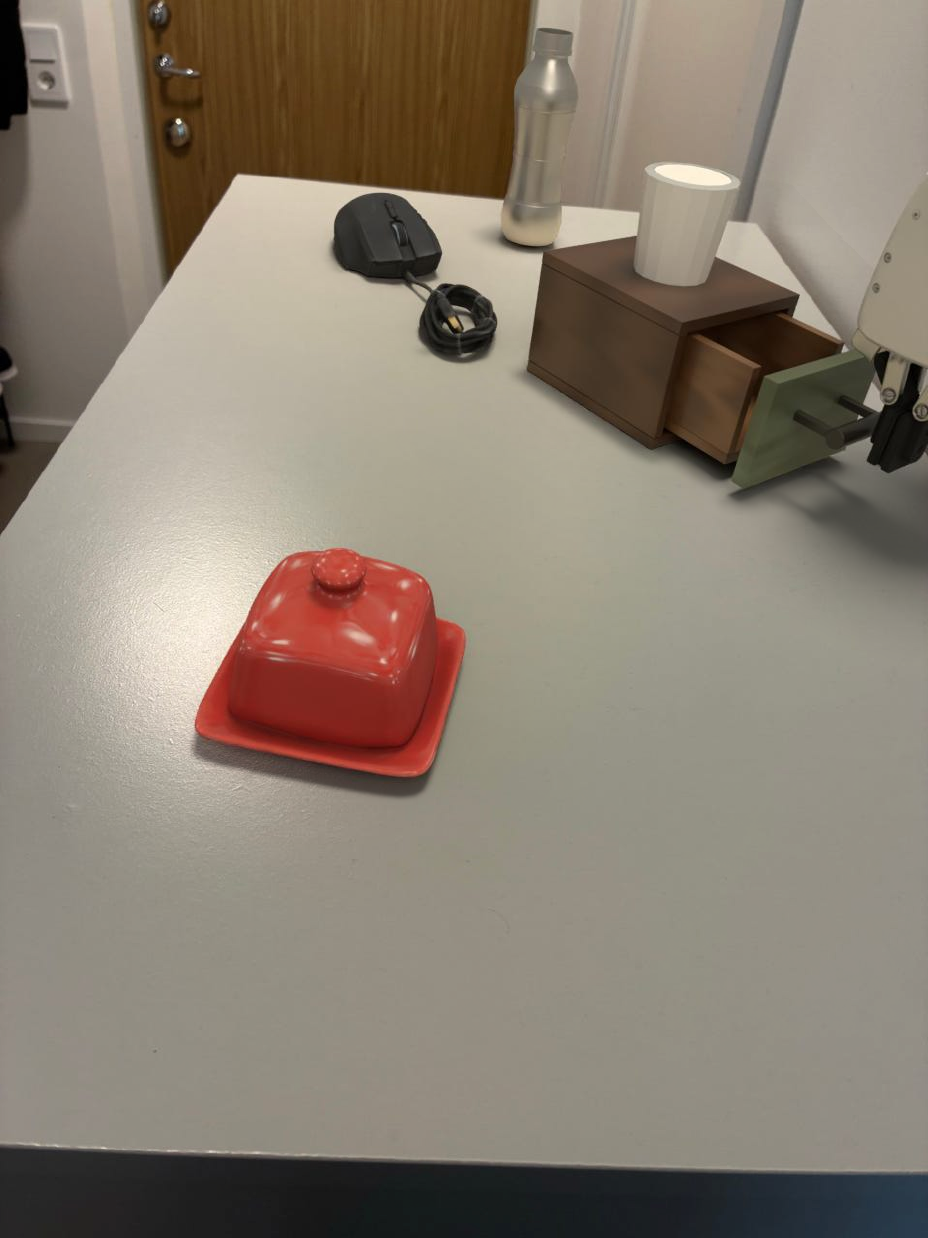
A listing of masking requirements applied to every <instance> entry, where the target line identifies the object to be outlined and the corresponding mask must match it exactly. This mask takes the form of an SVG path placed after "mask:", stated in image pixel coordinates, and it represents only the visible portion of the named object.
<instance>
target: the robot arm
mask: <svg viewBox="0 0 928 1238" xmlns="http://www.w3.org/2000/svg"><path fill="white" fill-rule="evenodd" d="M856 325H857V328H856V330H855V331H854V332H853V335H852V336H851V338H850V345H851V346H852V348H853V350H854V349H856V350H857V351H858V352H859V353H860V354H862V355H863V356H864V357H865V358H866V359H868V360H869V361H870V362H871V361H872V362H873V363H874V367H875V369H876V372H875V373H876V375H877V378H878V380H879V383H880V386H881V387H880V392H879V399H880V401H881V402H882V403H883V407H882V409H881V410H880V411H881V414H880V416H879V419H878V421H877V424H876V426H875V428H874V431H873V433H872V436H871V437H870V439H869V442H870V444H872V446H871V448H870V451H869V452H868V456H867V458H866V462H867V463H868V464H869V465H872V466H873V467H874V466H879V467H880V470H881V471H883V472H885V473H886V474H891V473H893V472H896V471H897V470H900V469H902V468H905V467H907V466H909V465H912V464H914V463H917V462H918V461H919V460H920V459H922V457H923V456H924V454H925V452H926V450H927V447H928V383H927V384H926V386H925V387H924V388H923V385H924V382H925V378H926V375H927V371H928V171H927V172H926V173H925V174H924V176H923V178H922V179H921V181H920V182H919V184H918V185H917V187H916V188H915V190H914V192H913V194H912V195H911V196H910V198H909V200H908V202H907V203H906V205H905V208H904V209H903V210H902V212H901V214H900V216H899V217H898V220H897V222H896V224H895V226H894V227H893V230H892V231H891V234H890V236H889V237H888V240H887V241H886V243H885V245H884V247H883V250H882V252H881V254H880V257H879V259H878V261H877V263H876V266H875V268H874V270H873V272H872V275H871V277H870V280H869V282H868V284H867V287H866V289H865V292H864V295H863V297H862V300H861V304H860V307H859V311H858V316H857V321H856ZM922 389H923V391H922ZM921 391H922V392H921Z"/></svg>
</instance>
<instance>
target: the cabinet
mask: <svg viewBox="0 0 928 1238" xmlns="http://www.w3.org/2000/svg"><path fill="white" fill-rule="evenodd" d="M636 240H637V235H631V236H625V237H619V238H613V239H608V240H602V241H595V242H590V243H584V244H577V245H572V246H571V245H570V246H565V247H558V248H554V249H548V250H543V251H542V259H541V267H540V272H539V281H538V288H537V295H536V302H535V307H534V308H535V309H534V315H533V322H532V329H531V338H530V342H529V343H530V344H529V349H528V350H529V352H528V357H527V359H528V360H527V365H526V370H527V371H528V372H530V373H532V375H535V376H536V377H537V378H539V379H541V380H542V381H544V382H545V383H547V384H549V385H550V386H552V387H553V388H555V389H556V390H558V391H559V392H561V393H563V394H564V395H566V396H567V397H569V398H570V399H572V400H573V401H575V402H577V403H578V404H579V405H581V406H582V407H584V408H586V409H587V410H589V411H591V412H592V413H594V415H595V414H596V415H597V416H599V417H600V418H601V419H602V420H605V421H606V422H607V423H609V424H611V425H612V426H613V427H615V428H617V429H619V430H620V431H622V432H623V433H624V434H626V435H628V436H630V437H631V438H633V439H634V440H636V441H638V442H639V443H640V444H642V445H644V446H645V447H647V448H649V449H650V450H653V449H656V448H659V447H662V446H666V445H668V444H669V445H670V444H672V443H675V442H679V441H681V440H683V439H682V438H681V437H679V436H678V435H676V434H674V433H673V432H671V431H669V430H668V429H666V428H665V427H664V425H665V421H666V417H667V413H668V409H669V405H670V401H671V397H672V393H673V389H674V385H675V381H676V377H677V373H678V369H679V365H680V361H681V357H682V353H683V349H684V345H685V341H686V337H687V333H689V332H693V331H697V330H701V329H705V328H709V327H713V326H717V325H721V324H725V323H729V322H733V321H737V320H741V319H745V318H750V317H754V316H758V315H762V314H766V313H770V312H774V311H780V312H782V313H784V314H786V315H788V316H790V317H792V318H794V314H795V312H796V308H797V306H798V303H799V299H800V296H801V294H799V293H798V292H796V291H793V290H791V289H789V288H787V287H785V286H782V285H780V284H777V283H776V282H774V281H771V280H769V279H766V278H764V277H762V276H760V275H758V274H755V273H753V272H751V271H748V270H746V269H744V268H743V267H739V266H737V265H735V264H733V263H731V262H729V261H726V260H724V259H722V258H719V257H717V256H715V259H714V262H713V264H712V267H711V270H710V273H709V276H708V278H707V280H706V282H705V283H702V284H699V285H696V286H675V285H667V284H663V283H659V282H655V281H652V280H650V279H647V278H645V277H643V276H641V275H640V274H638V273H637V272H636V271H635V269H634V257H635V249H636Z"/></svg>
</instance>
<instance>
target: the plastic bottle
mask: <svg viewBox="0 0 928 1238" xmlns="http://www.w3.org/2000/svg"><path fill="white" fill-rule="evenodd" d="M573 41H574V32H572V31H569V30H565V29H560V28H555V27H554V28H553V27H538V28H536V29H535V34H534V42H533V44H532V49H531V51H533V52H534V55H533V58H532V60H531V61H530V62H529V63H528V64H527V66H525V68H524V69H523V71H521V73H520V75H519V76H518V78H517V80H516V83H515V85H514V89H513V113H514V114H513V115H514V117H513V118H514V119H513V120H514V121H513V123H514V132H513V150H512V162H511V166H510V167H511V168H510V173H509V177H508V178H509V180H508V184H507V190H506V194H505V195H504V199H503V203H502V207H501V211H500V227H501V231H502V234H503V235H504V237H505V238H506V239H507V240H509V241H510V242H513V243H516V244H518V245H523V246H529V247H545V246H550V245H551V244H552V243H553V242H554V241H555V240H556V239H557V238H558V236H559V234H560V233H559V232H560V229H561V227H562V223H563V221H562V217H563V215H562V214H563V207H562V200H561V199H562V188H563V187H562V186H563V173H564V172H563V171H564V164H565V158H566V157H565V154H566V152H567V147H568V142H569V137H570V133H571V129H572V125H573V122H574V119H575V115H576V111H577V109H576V108H577V107H578V102H579V98H580V97H579V87H578V83H577V81H576V78H575V75H574V71H572V68H571V66H570V64H569V57H571V56H572V55H573Z"/></svg>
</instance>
